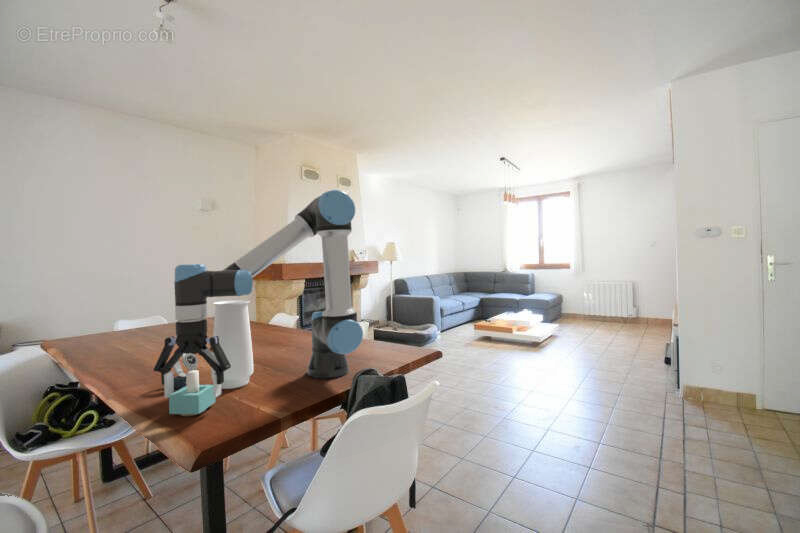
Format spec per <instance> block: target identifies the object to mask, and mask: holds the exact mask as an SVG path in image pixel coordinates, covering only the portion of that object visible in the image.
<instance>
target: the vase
mask: <svg viewBox="0 0 800 533" xmlns="http://www.w3.org/2000/svg"><path fill="white" fill-rule="evenodd" d="M250 302H251V301H250V300H248V299H247V300H246V299H244V300H239V299H238V300H223V301H222V300H221V301H215V302H213V303H212V305H213V306H215V308H214V309H215V310H214V322H213V334H212V335H213V336H212V337H214V336H218V337H219V344H220V346H221V348H222V350H223V351H224V353H225V355H226V357H227V359H228V361H229V363H230V365H231V367H230V368H229V369H227V370H226V371H224V382H223V383H222V384H221V390H228V389H229V390H230V389H237V388H241V387H244V386H246V385H248V383H250V378H251V375H252V374H254V367H255V366H254V355H253V343H252V333H251V324H250V314H249V305H248V304H250ZM211 353H212V354H213V355H214V353H213V351H211ZM214 356H215V355H214ZM210 370H211V379H212V380H213V373H215V371H214V370H213V368H212V367H211V369H210Z"/></svg>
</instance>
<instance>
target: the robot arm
mask: <svg viewBox="0 0 800 533" xmlns="http://www.w3.org/2000/svg"><path fill="white" fill-rule="evenodd" d="M355 215H356V204H355V202H354V200H353V199H352V197H351V196H350V195H349V194H348V193H346V192H345V191H343V190H339V189H331V190H327V191H325V192H323V193H322V194H321V195H318V196H317V197H316V198H314V199H313V200H312V201H311V202H310V203H309V204H308V205H306V207H304V209H302V210H301V211H299V213H297V214H295V216H294V220H292V221H291V222H290V223H287V225H285V226H284V227H282V228H280V230H278V231H276V232H275V233H274V234H272V235H271V236H269V237H268V238H266V239H265V240H264V241H263V242H261V243H259V244H258V245H257V246H255V247H254V248H252V249H251V250H249V251H248V252H247V253H245V254H244V255H242V256H241V257H240V258H238V259H236V260H235V261H234V262H233V263H231V264H230V265H228V266H227V267H225V268H224V269H222V270H207V266H206V265H205V264H201V263H200V264H198V263H197V264H191V263H190V264H178V265H176V267H175V268H174V302H175V303H174V304H175V305H174V311H175V312H174V314H175V315H174V317H175V318H174V319H175V320H176V322H175V334H176V337H175V336H170V337H166V338H165V339H164V346H163V348H162V350H161V353H160V355H159V356H158V359H157V361H156V363H155V366H154V368H153V371H154V372H159V373H160V374H161V384H162V386H164V387H163V388H164V389H163V390H164V391H163V392H164V398H165V399H167V398H168V399H169V395H171V394H172V393H174V392H175V389H174V378H175V377H174V371H173V370H172V369H173V366H174V365H175V364H176V362H177V361H178V360H179V361H180V359H181V358H182V355H183V354H184V353H185V354H189V353H191V354H194V355H197V354H198V355H199V356H201V357H202V358H203V359H204V360H205V362H207V364H208V365H209V366H210V367H211V369H212V368H213V370H214V371H215V373H213V379H212V385H213V397H216V398H218V397H219V396H221V395H222V389H221V384H222V383H223V382H224V371H226V370H227V369H229V368H230V367H231V365H230V363H229V361H228V359H227V357H226V355H225V353H224V351H223V350H222V348H221V346H220V344H219V337H218V336H214V337H213V336H212V337H208V336H207V334H208V319H206V318H207V317H208V313H207V311H208V310H207V309H208V308H207V306H208V303H207V302H208V301H207V299H208V298H215V297H216V298H219V297H241V296H248V295H250V294H252V293H253V278H254V277H256V276H257V275H258V274H260V273H261V272H262V271H264V270H265V269H266V268H268V267H269V266H271V265H272V264H273V263H274V262H277V260H278V259H280V258H282V257H283V256H284V255H286V253H288V252H289V251H291V250H292V249H294V248H295V247H297V246H298V245H299V244H300V243H302V242H304V241H305V240H307V239H308V238H314V237H315V236H317V235H318V236H320V238H321V247H322V264H323V276H324V277H323V278H324V293H325V310H323V311H314V312H312V315H311V320H310V322H311V349H312V351H311V356H310V359H309V362H308V365H307V375H308V376H309V377H310V378H315V379H332V378H333V379H335V378H338V377H342V376H344V375H347V374H348V373H349V372H350V365H349V361H348V358H347V356H346V355H348V354H351V353H353V352H355V351H356V350H357V349H358V348H359V346H360V345H361V344H362V341H363V338H364V333H363V332H364V331H363V328H362V326H361V324H360V323H359V322H358V311H357V310H356V309H355V307H353V304H352V289H351V288H352V287H351V274H350V272H351V271H350V258H349V257H350V256H349V241H348V237H349V235H350V234H351V233H352V231H353V230H352V220H353V219H354V217H355ZM207 344H208V345H209V346H208V345H207ZM175 345H176V346H177V349H176V350H175V351H174V352H173V354H172V356H170V355H171V353H172V351H173V349H174V347H175ZM209 347H210V348H209ZM211 350H212V351H213V353H214V355H215V356H214V355H213V354H212V351H211ZM169 357H170V358H169Z"/></svg>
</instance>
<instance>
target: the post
mask: <svg viewBox="0 0 800 533" xmlns="http://www.w3.org/2000/svg"><path fill="white" fill-rule="evenodd" d="M199 372H200V371H199V370H197V369H196V370H193V371H190V370H187V372H186V373H185V374H186V384H187V393H197V392H199V385H200V373H199ZM207 409H208V408H206V409H205V410H204V411H202V412H201V413H199V414H203V413H204V412H206V411H207ZM199 414H179V416H182V417H194V416H197V415H199Z"/></svg>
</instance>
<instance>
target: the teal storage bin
mask: <svg viewBox="0 0 800 533" xmlns="http://www.w3.org/2000/svg"><path fill="white" fill-rule="evenodd" d="M216 399H217V397H213V384H199V392H197V393H187V386H185V387H183V388H179V389H178V390H176V391H174V393H172V394H171V395H169V397H168V406H169V407H168V410H169V411H168V412H169V413H168V414H169V415H180V414H197V415H199V413H200V414H202V413H201V412H202V411H204V410H205V409H206V408H207V409H208V408H209V407H211V406H212V405H214V404H215V403H216V402H217V400H216ZM207 409H206V410H207ZM204 412H205V411H204Z"/></svg>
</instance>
